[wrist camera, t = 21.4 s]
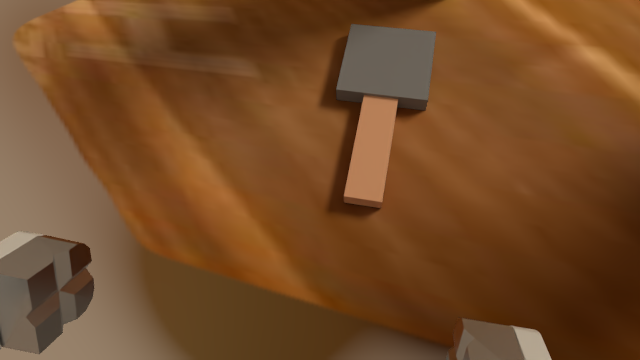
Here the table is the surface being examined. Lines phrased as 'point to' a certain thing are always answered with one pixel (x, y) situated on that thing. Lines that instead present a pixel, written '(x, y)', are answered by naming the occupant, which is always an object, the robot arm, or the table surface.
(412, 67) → the toy hammer
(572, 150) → the table surface
